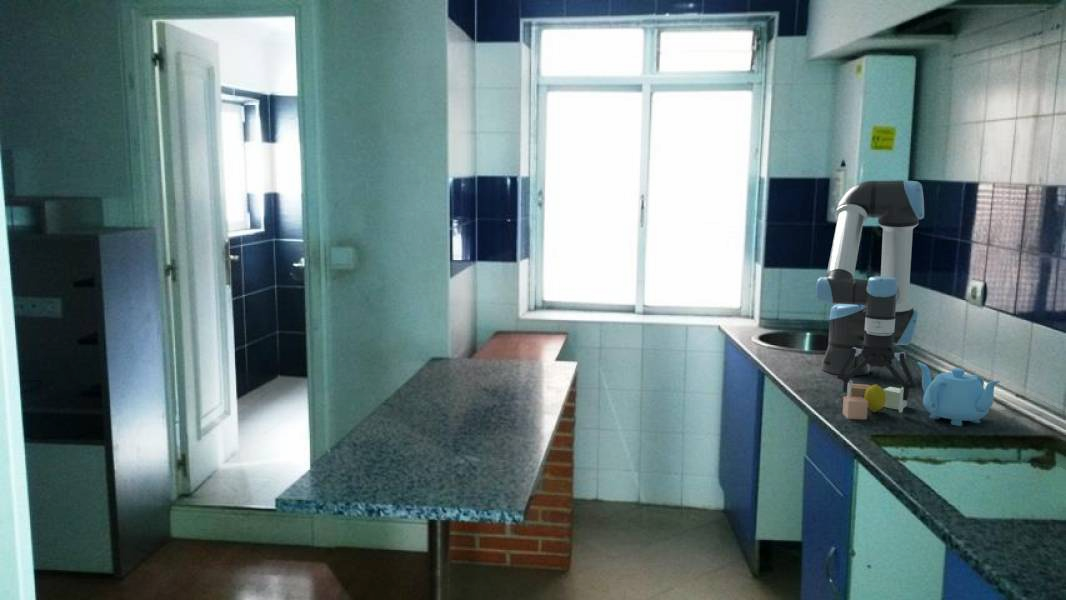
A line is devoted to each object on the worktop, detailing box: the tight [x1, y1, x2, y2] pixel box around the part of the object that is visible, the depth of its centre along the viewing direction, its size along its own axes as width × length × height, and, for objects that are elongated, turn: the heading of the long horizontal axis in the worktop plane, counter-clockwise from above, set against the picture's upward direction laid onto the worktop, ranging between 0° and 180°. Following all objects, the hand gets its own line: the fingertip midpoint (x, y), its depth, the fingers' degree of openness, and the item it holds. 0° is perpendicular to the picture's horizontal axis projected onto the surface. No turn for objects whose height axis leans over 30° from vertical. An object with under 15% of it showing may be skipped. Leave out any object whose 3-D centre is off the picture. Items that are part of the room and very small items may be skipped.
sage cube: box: [882, 386, 908, 411], centre depth 227 cm, size 5×5×5 cm
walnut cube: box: [851, 383, 871, 398], centre depth 231 cm, size 5×5×5 cm
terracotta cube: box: [842, 395, 868, 420], centre depth 218 cm, size 5×5×5 cm
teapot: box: [916, 361, 1001, 427], centre depth 214 cm, size 16×20×14 cm
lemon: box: [864, 383, 886, 413], centre depth 221 cm, size 6×6×8 cm
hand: (874, 407), depth 222 cm, fingers open, 13 cm apart
